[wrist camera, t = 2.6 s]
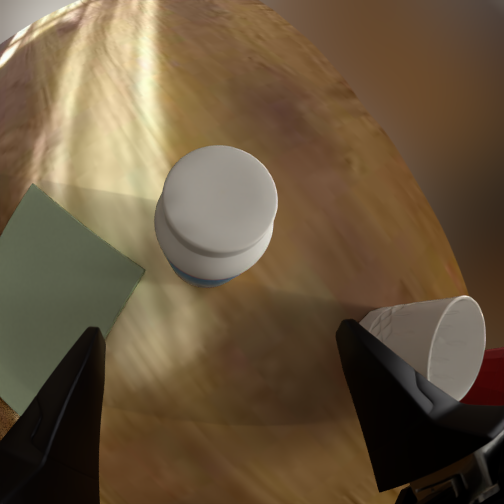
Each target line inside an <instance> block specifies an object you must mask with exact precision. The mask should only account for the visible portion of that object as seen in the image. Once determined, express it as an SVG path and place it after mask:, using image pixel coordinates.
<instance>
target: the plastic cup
mask: <svg viewBox="0 0 504 504" xmlns="http://www.w3.org/2000/svg"><path fill="white" fill-rule="evenodd" d="M459 402H461V403H464V404H469V405H489V406H503V405H504V347H501V348H495V349H488V350H484V356H483V360H482V364H481V367H480V370H479V373H478V375H477V377H476V379H475V381H474V383H473V385H472V387H471V388H470V390H469V391H468V392H467V394H466V395H465V396H464V397H463V398H462V399H461V400H460V401H459Z"/></svg>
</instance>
